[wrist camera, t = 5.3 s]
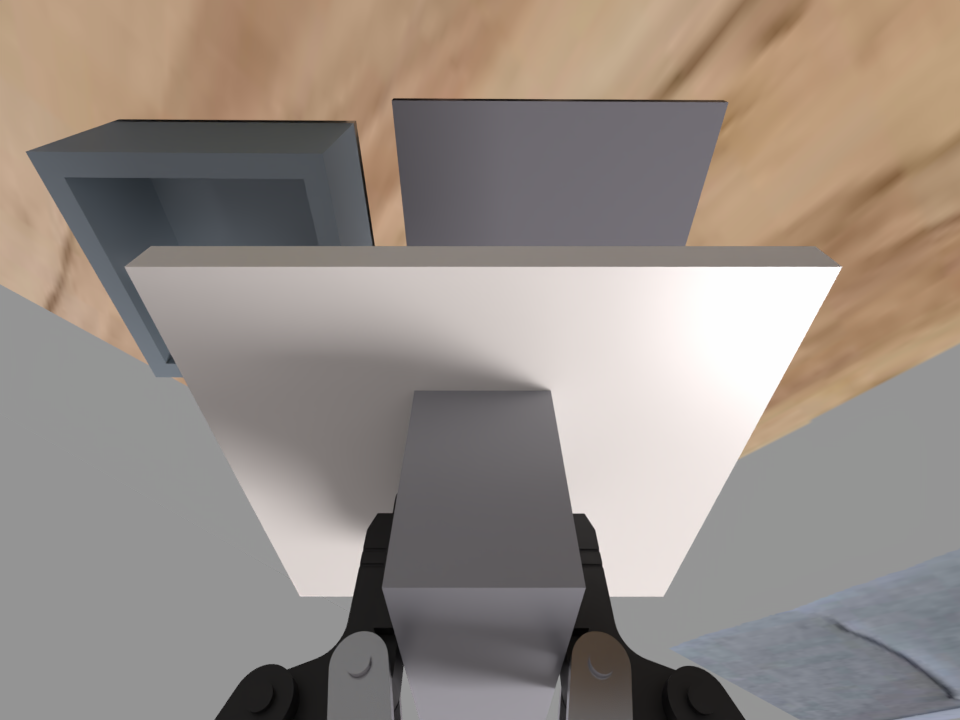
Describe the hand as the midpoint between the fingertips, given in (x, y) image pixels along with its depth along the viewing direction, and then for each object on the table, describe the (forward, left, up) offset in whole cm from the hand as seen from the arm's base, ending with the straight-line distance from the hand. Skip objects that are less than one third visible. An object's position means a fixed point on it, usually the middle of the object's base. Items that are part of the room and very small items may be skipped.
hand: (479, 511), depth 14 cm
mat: (-4, 0, -18) cm, 18 cm away
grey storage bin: (+12, -1, -18) cm, 22 cm away
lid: (0, 0, -2) cm, 2 cm away
